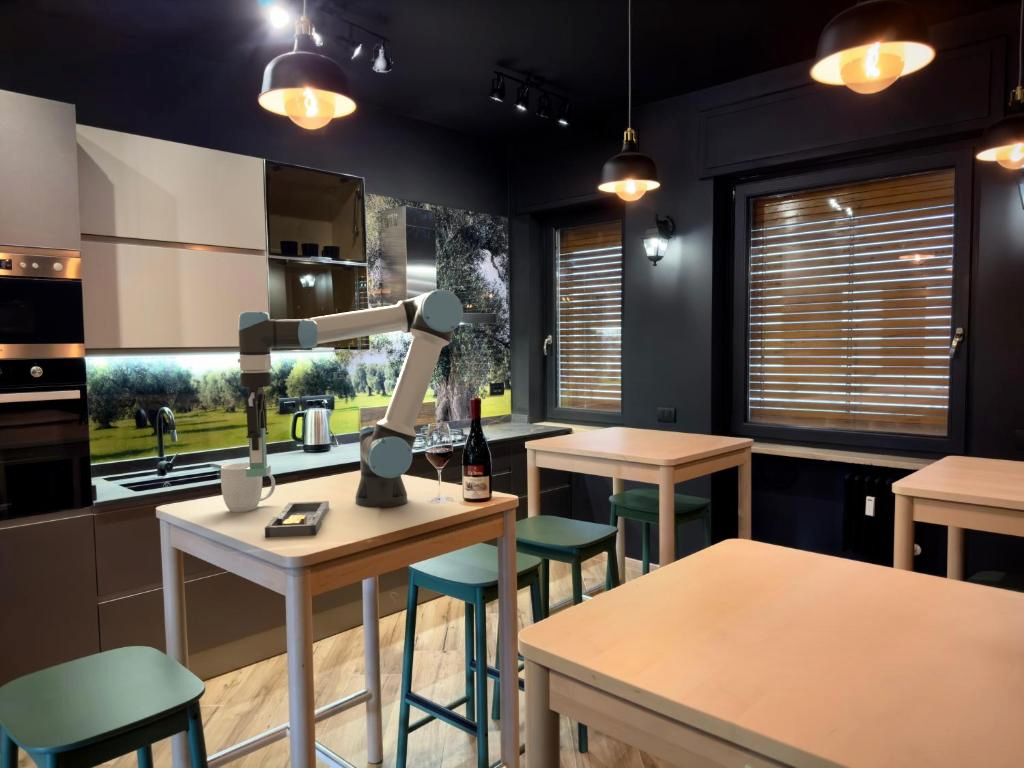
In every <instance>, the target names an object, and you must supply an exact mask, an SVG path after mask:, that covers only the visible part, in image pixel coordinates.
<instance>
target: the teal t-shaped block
mask: <svg viewBox="0 0 1024 768" xmlns="http://www.w3.org/2000/svg"><path fill="white" fill-rule="evenodd" d="M266 432H267V431H266V428H260V434H261V436H260V437H262V463H251V450H250V438H248V453H249V462H250V467H248V468H247V469H246V477H257V476H262V477H268V474H272V473H271V472H272V470H271V466H272V465H271V464H268V461H267V460H268V458H267V454H268V453H267V434H266Z"/></svg>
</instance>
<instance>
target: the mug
mask: <svg viewBox="0 0 1024 768" xmlns="http://www.w3.org/2000/svg"><path fill="white" fill-rule="evenodd" d="M248 467H250V461H248V462H235V463H234V462H233V463H228V464H224V465H221V467H220V484H221V485H220V486H221V494H222V498H223V502H224V503H225V506H226V508H227V509H228V510H229V512H231V513H244V512H245V513H247V512H250V511H255V510H256V509H257V508H258V506H259V503H260V502H263V501H265V500H267V499H268V498H271V496H272V495H273V494H274V492H275V489H276V479H275V477H274V476H273V474H272V473H270V474H268V475H267V477H268V478H269V479H270V482H271V486H270V490H269V491H268V493H266V494H265V495H264V496H262V492H263V476H257V477H246V469H247V468H248Z"/></svg>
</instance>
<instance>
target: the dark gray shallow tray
mask: <svg viewBox="0 0 1024 768" xmlns="http://www.w3.org/2000/svg"><path fill="white" fill-rule="evenodd" d="M329 504H330V503H329V500H322V501H318V500H317V501H301V502H300V501H299V502H298V501H297V502H288V503H287V505H286V506H285V507H284V508H283V510H281V512H280V513H279V514H278V516H277V517H278V521H279V526H282V523H283V522H284V521H285V519H288V518H289V517H290V516H291V515H307V524H312V522H313V520H314V519H315V517H316V515H321V520H322V521H323V520H324V517H325V516H326V514H327V513H328V510H329V509H330V505H329Z"/></svg>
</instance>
